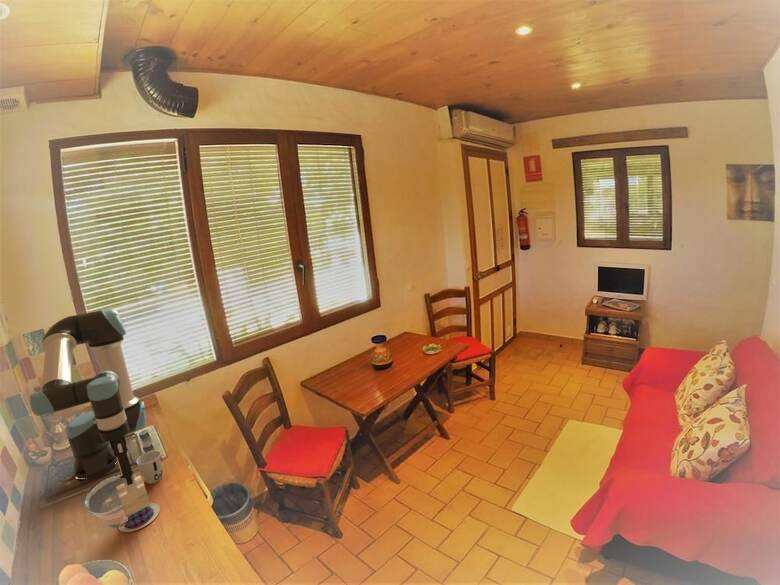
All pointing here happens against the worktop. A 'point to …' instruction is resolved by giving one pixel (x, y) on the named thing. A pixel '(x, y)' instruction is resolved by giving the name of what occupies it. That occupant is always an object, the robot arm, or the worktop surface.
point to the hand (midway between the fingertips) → (128, 480)
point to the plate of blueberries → (141, 518)
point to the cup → (151, 466)
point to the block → (133, 497)
